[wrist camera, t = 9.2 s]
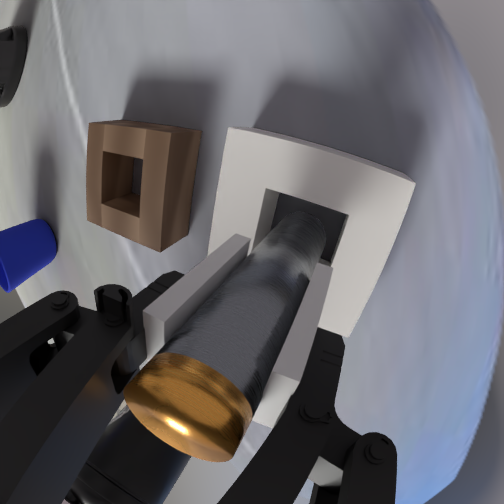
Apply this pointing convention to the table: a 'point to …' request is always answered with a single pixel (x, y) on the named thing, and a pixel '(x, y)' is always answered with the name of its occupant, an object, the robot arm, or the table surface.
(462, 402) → the table surface
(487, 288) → the table surface
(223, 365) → the pin
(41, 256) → the mug
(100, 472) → the water bottle
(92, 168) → the mount block
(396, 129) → the table surface
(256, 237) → the dock block
